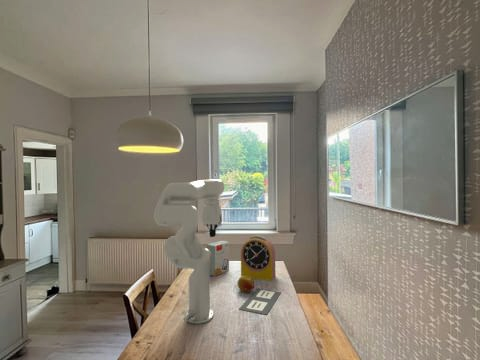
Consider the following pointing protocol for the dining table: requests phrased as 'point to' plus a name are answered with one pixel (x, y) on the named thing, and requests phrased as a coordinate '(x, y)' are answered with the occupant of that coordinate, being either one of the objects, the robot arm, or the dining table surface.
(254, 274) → the alarm clock
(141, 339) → the dining table surface
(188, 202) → the robot arm
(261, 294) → the label mat
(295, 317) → the dining table surface
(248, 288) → the fruit
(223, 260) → the hard drive box
